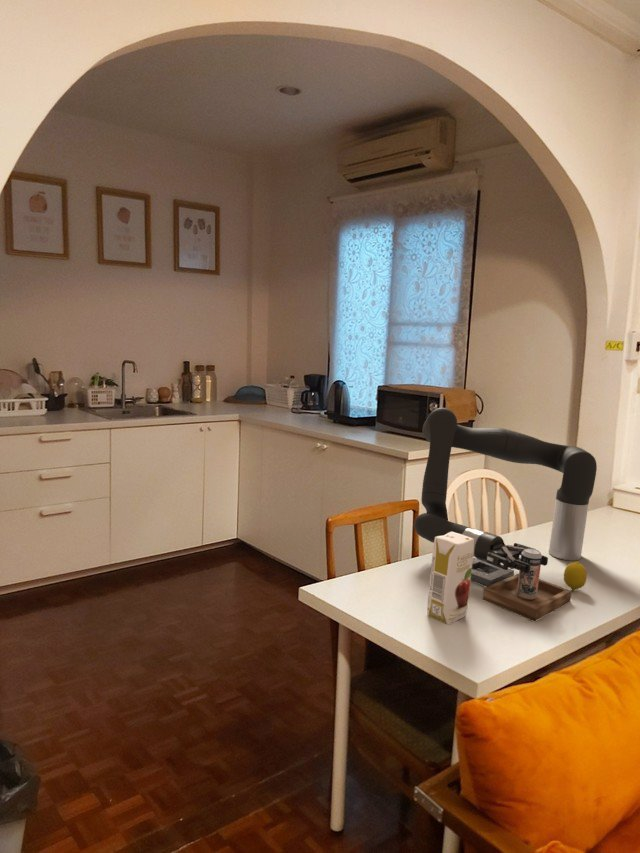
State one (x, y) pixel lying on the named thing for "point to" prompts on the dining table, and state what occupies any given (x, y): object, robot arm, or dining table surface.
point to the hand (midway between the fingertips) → (538, 565)
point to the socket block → (489, 579)
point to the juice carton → (450, 577)
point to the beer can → (529, 574)
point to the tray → (535, 609)
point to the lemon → (575, 575)
